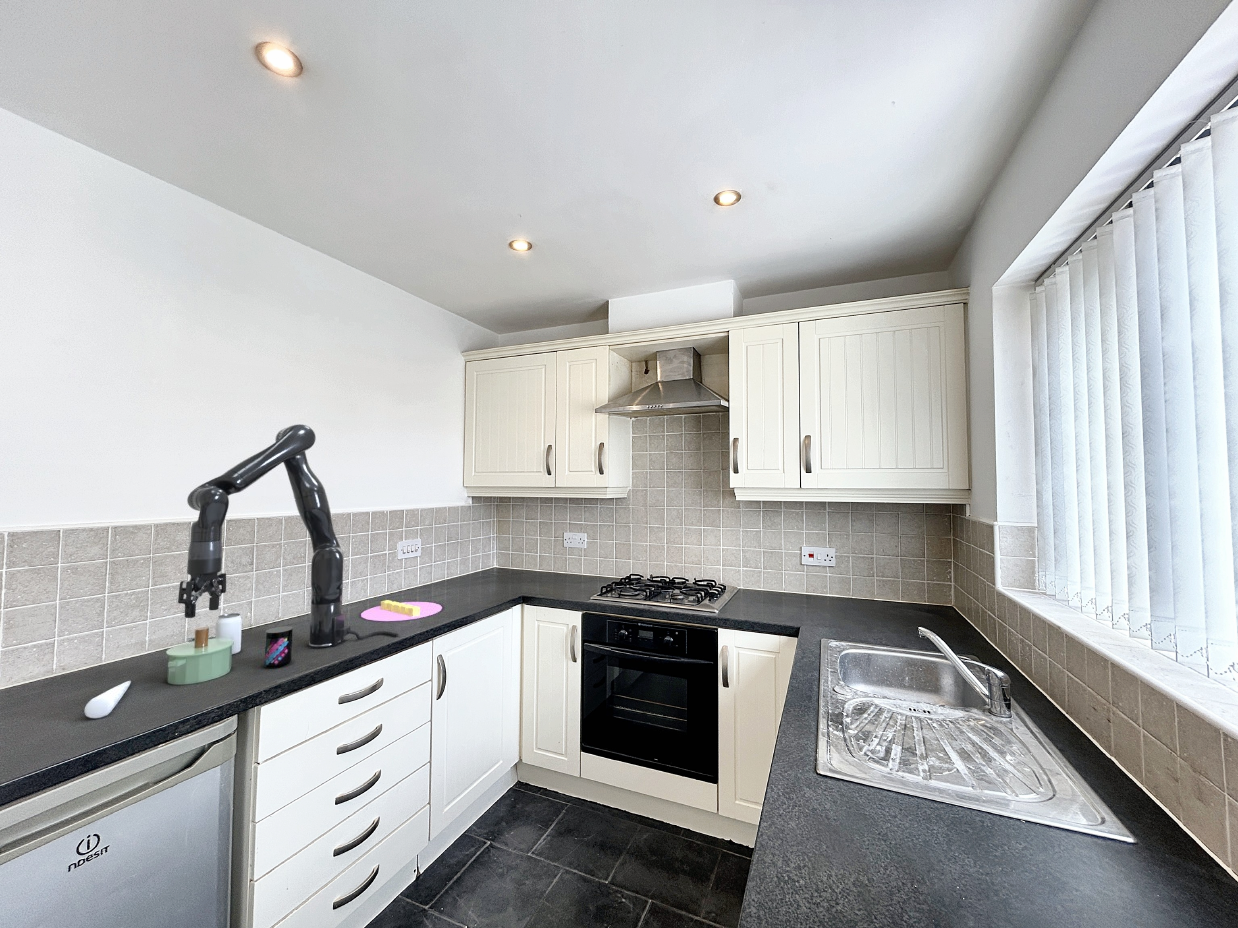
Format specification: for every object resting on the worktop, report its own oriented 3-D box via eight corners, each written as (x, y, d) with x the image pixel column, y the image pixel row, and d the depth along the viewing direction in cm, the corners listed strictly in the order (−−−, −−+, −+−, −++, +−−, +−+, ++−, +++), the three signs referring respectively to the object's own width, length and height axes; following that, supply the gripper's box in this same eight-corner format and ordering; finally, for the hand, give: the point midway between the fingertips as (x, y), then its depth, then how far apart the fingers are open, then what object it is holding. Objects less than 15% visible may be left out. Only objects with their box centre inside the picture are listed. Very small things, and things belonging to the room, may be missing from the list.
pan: (248, 662, 148) (249, 637, 148) (198, 688, 129) (200, 659, 129) (200, 663, 147) (202, 637, 147) (144, 689, 128) (145, 660, 128)
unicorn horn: (148, 680, 134) (149, 662, 134) (111, 717, 113) (112, 696, 113) (125, 683, 131) (126, 665, 132) (82, 721, 111) (83, 700, 111)
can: (226, 657, 152) (227, 618, 152) (209, 655, 153) (210, 617, 154) (245, 650, 158) (247, 613, 159) (229, 649, 159) (230, 612, 160)
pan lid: (245, 641, 146) (246, 620, 146) (208, 658, 132) (209, 635, 132) (194, 642, 145) (195, 621, 145) (150, 659, 131) (152, 636, 131)
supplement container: (258, 667, 144) (259, 631, 144) (280, 659, 150) (281, 625, 151) (275, 669, 142) (277, 633, 143) (296, 661, 149) (298, 627, 149)
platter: (389, 625, 187) (390, 616, 187) (344, 613, 204) (345, 605, 204) (457, 608, 214) (458, 600, 214) (413, 598, 231) (413, 591, 231)
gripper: (199, 560, 133) (196, 620, 132) (236, 553, 147) (234, 607, 146) (170, 560, 132) (166, 620, 132) (210, 553, 147) (207, 607, 146)
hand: (202, 613), depth 139 cm, fingers open, 8 cm apart
